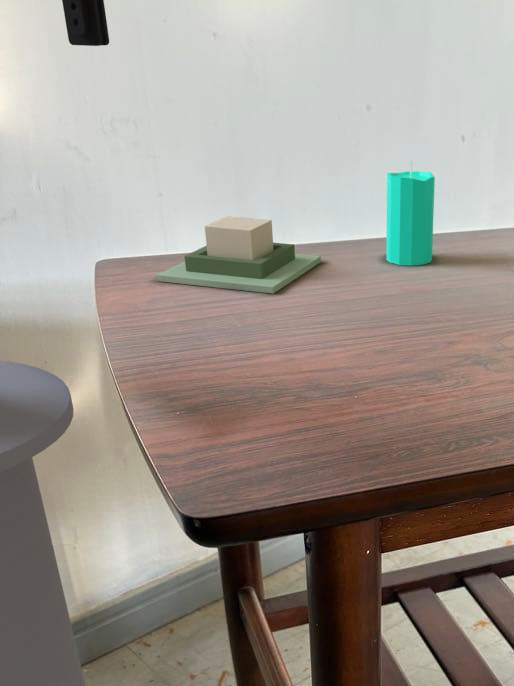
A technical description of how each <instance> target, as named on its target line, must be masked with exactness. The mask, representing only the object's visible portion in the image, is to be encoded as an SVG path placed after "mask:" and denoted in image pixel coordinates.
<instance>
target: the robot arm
mask: <svg viewBox="0 0 514 686" xmlns="http://www.w3.org/2000/svg"><path fill="white" fill-rule="evenodd" d="M61 2H62V9H63V14H64V21H65V26H66V33H67V39H68V42H69V44H70V45H72V46H85V47H101V46H108V45H109V44H110V35H109V29H108V22H107V14H106V7H105V0H61Z"/></svg>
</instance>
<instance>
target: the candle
mask: <svg viewBox="0 0 514 686" xmlns="http://www.w3.org/2000/svg"><path fill="white" fill-rule="evenodd" d="M435 179H436V176H434V174H433V173H432V172H431V171H415V170H414V171H413V160H410V170H408V171H401V172H400V171H399V172H386V256H385V257H386V261H388V262H389V263H390V264H394V265H399V266H423V265H426V264H430V263H431V262H432V260H433V240H434V237H433V236H434V233H433V232H434V213H435V212H434V211H435V209H434V208H435V181H436V180H435Z"/></svg>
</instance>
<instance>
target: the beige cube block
mask: <svg viewBox="0 0 514 686" xmlns="http://www.w3.org/2000/svg"><path fill="white" fill-rule="evenodd" d="M272 220H273V219H263V218H251V217H242V216H232V215H231V216H230V215H226V216H224V217H222V218H220V219H218V220H216V221H213V222H211V223H209V224H207V225H205V226H204V234H205V246H207V255H208V256H216V257H226V258H236V259H246V260H258V259H260V258H261V257H263V256H265V255H267V254H269V253H270V252H272V251H274V250H273V243H274V234H273V221H272Z"/></svg>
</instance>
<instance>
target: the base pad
mask: <svg viewBox="0 0 514 686" xmlns="http://www.w3.org/2000/svg"><path fill="white" fill-rule="evenodd" d="M273 250H274V251H272V252H270V253H269V254H267V255H265V256H263V257H261V258H260V259H258V260H246V259H236V258H226V257H216V256H208V255H207V245H205V246H202V247H201V248H199V249H196V250H194V251H192V252H190V253H188V254H186V255H184V261H182V262H180V263H178V264H176V265H174V266H172V267H170V268H168V269H165V270H164V271H161V272H160V273H157V274H156V278H157V279H156V280H157V282H161V283H171V284H179V285H191V286H197V287H198V286H199V287H206V288H207V287H208V288H216V289H217V288H218V289H227V290H235V291H245V292H254V293H264V294H271V295H272V294H275V293H277V292H278V291H280V290H281V289H283V288H284V287H286V286H288V285H289V284H290V283H292V282H293V281H295V280H296V279H298V278H299V277H301V276H303V275H304V274H305V273H307V272H308V271H310V270H311V269H313V268H315V267H316V266H317V265H319V264H321V263H322V257H321V255H313V254H302V253H296V251H295V250H296V249H295V244H293V243H284V242H283V243H281V242H273Z"/></svg>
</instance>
